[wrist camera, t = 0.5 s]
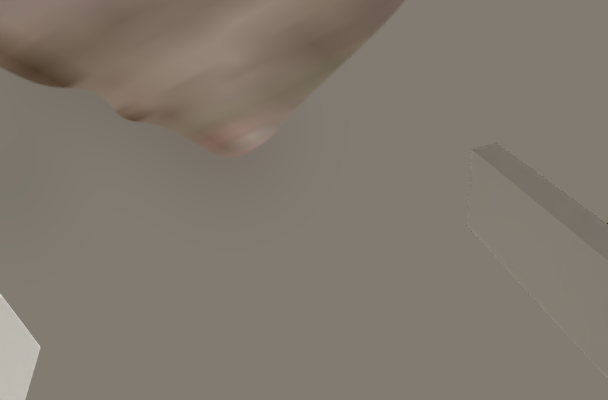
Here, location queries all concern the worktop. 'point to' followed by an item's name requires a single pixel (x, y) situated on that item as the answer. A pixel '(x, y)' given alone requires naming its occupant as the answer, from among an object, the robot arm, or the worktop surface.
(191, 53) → the worktop surface
